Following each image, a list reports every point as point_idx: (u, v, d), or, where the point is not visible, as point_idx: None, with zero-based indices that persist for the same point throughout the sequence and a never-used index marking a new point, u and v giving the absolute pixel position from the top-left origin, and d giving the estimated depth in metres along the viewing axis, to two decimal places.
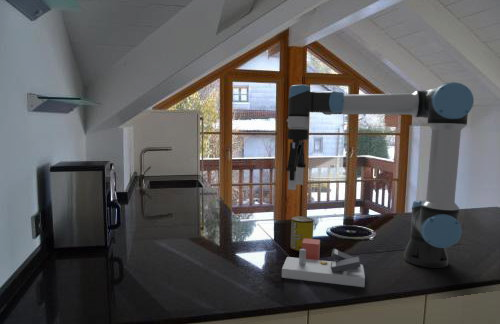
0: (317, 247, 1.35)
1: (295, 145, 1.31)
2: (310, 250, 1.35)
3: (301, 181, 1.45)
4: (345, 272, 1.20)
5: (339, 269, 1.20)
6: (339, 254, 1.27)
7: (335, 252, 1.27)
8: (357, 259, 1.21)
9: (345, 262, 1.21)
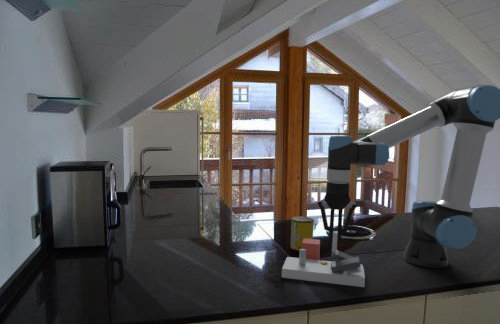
0: (317, 247, 1.35)
1: None
2: (310, 250, 1.35)
3: None
4: (345, 272, 1.20)
5: (339, 269, 1.20)
6: (339, 254, 1.27)
7: (335, 252, 1.27)
8: (357, 259, 1.21)
9: (345, 262, 1.21)
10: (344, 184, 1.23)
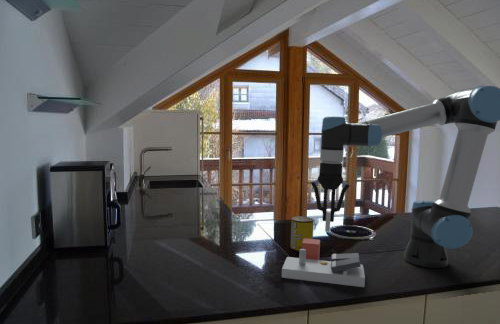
0: (317, 247, 1.35)
1: (312, 185, 1.30)
2: (310, 250, 1.35)
3: None
4: (345, 272, 1.20)
5: (339, 269, 1.20)
6: (337, 257, 1.27)
7: (333, 257, 1.28)
8: (357, 259, 1.21)
9: (345, 262, 1.21)
10: (337, 164, 1.26)
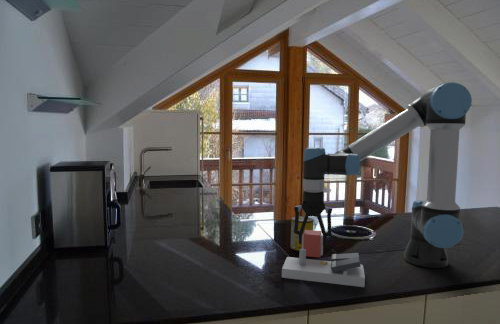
0: (318, 238, 1.34)
1: None
2: (312, 241, 1.35)
3: None
4: (345, 272, 1.20)
5: (339, 269, 1.20)
6: (337, 257, 1.27)
7: (333, 257, 1.28)
8: (357, 259, 1.21)
9: (345, 262, 1.21)
10: (318, 193, 1.33)
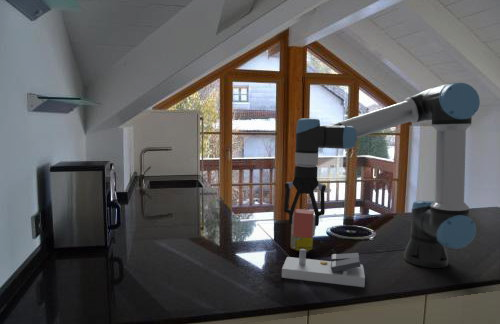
0: (310, 217, 1.23)
1: None
2: (303, 220, 1.24)
3: (312, 232, 1.26)
4: (345, 272, 1.20)
5: (339, 269, 1.20)
6: (337, 257, 1.27)
7: (333, 257, 1.28)
8: (357, 259, 1.21)
9: (345, 262, 1.21)
10: (311, 167, 1.22)
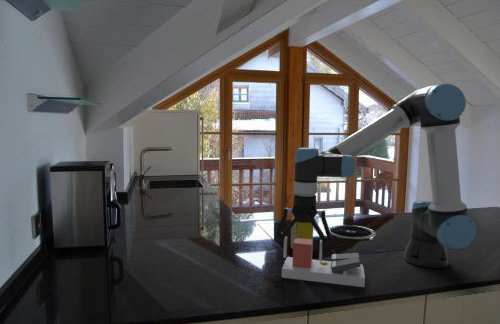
0: (309, 247, 1.24)
1: None
2: (302, 251, 1.25)
3: (319, 257, 1.26)
4: (345, 272, 1.20)
5: (339, 269, 1.20)
6: (337, 257, 1.27)
7: (333, 257, 1.28)
8: (357, 259, 1.21)
9: (345, 262, 1.21)
10: (310, 197, 1.23)
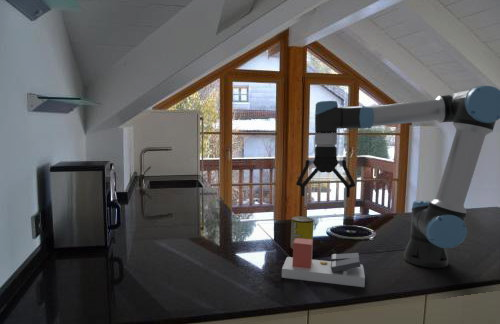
0: (309, 247, 1.24)
1: None
2: (302, 251, 1.25)
3: None
4: (345, 272, 1.20)
5: (339, 269, 1.20)
6: (337, 257, 1.27)
7: (333, 257, 1.28)
8: (357, 259, 1.21)
9: (345, 262, 1.21)
10: (331, 147, 1.29)
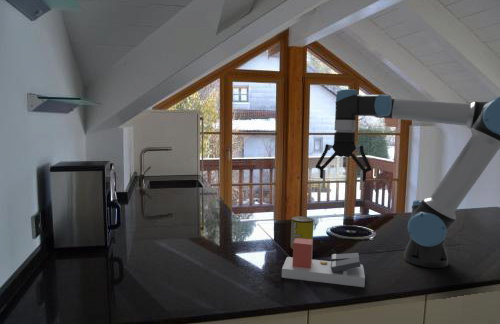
0: (309, 247, 1.24)
1: (325, 146, 1.43)
2: (302, 251, 1.25)
3: (360, 186, 1.41)
4: (345, 272, 1.20)
5: (339, 269, 1.20)
6: (337, 257, 1.27)
7: (333, 257, 1.28)
8: (357, 259, 1.21)
9: (345, 262, 1.21)
10: (350, 133, 1.38)
